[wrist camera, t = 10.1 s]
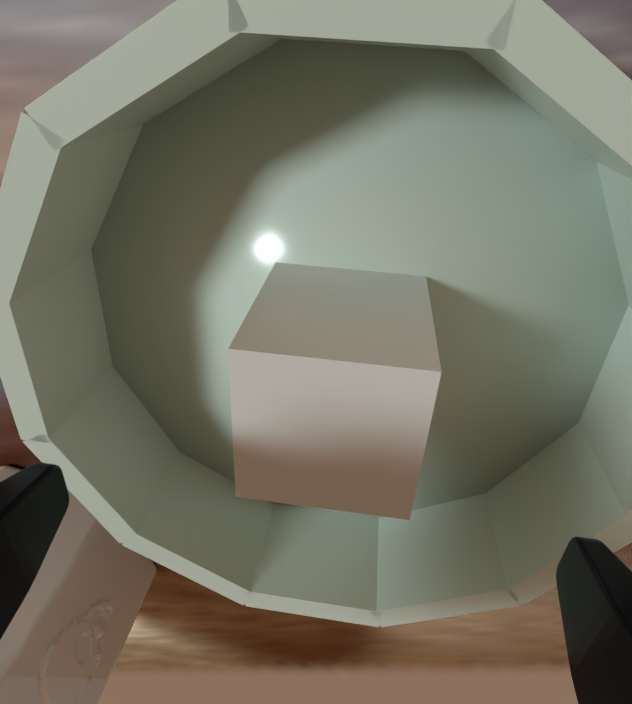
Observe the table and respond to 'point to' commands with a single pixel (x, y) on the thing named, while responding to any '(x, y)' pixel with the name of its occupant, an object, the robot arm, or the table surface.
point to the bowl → (336, 252)
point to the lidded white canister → (73, 614)
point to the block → (334, 389)
